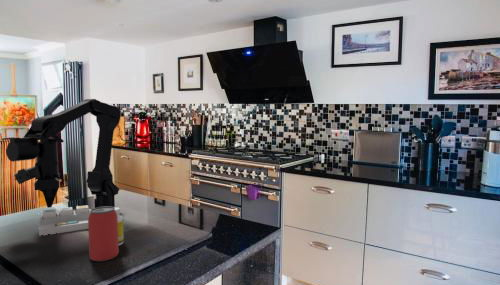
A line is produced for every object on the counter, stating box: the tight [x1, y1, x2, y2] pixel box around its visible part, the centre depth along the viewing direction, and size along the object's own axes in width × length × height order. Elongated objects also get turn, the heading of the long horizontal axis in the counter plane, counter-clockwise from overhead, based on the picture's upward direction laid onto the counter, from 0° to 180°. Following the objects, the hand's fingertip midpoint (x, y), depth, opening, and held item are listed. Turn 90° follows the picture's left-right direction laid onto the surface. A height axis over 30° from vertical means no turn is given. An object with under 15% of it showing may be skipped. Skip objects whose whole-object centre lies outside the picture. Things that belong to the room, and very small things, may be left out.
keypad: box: [38, 208, 91, 237], centre depth 106 cm, size 14×14×4 cm
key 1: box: [42, 208, 57, 219], centre depth 104 cm, size 3×3×2 cm
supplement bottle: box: [114, 206, 125, 247], centre depth 90 cm, size 5×5×10 cm
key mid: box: [59, 206, 73, 216], centre depth 106 cm, size 3×3×2 cm
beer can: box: [87, 206, 120, 262], centre depth 81 cm, size 7×7×12 cm
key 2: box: [75, 204, 89, 214], centre depth 109 cm, size 3×3×2 cm
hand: (49, 207), depth 104 cm, fingers closed
